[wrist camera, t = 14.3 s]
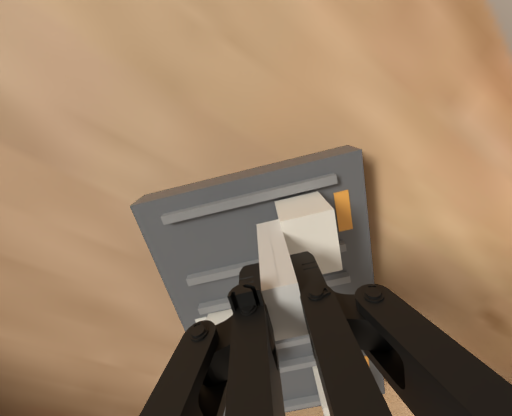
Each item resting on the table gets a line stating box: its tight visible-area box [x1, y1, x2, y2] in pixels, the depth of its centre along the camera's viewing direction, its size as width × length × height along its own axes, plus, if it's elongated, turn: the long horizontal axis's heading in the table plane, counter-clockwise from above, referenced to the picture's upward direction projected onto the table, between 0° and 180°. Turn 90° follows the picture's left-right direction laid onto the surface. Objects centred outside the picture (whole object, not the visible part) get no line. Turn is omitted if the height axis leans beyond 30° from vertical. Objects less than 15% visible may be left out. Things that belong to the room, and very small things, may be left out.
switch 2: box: [312, 366, 330, 416], centre depth 22 cm, size 3×4×4 cm
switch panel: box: [130, 145, 385, 416], centre depth 22 cm, size 16×24×3 cm, turn 14°
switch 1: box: [274, 191, 343, 274], centre depth 16 cm, size 3×4×4 cm
